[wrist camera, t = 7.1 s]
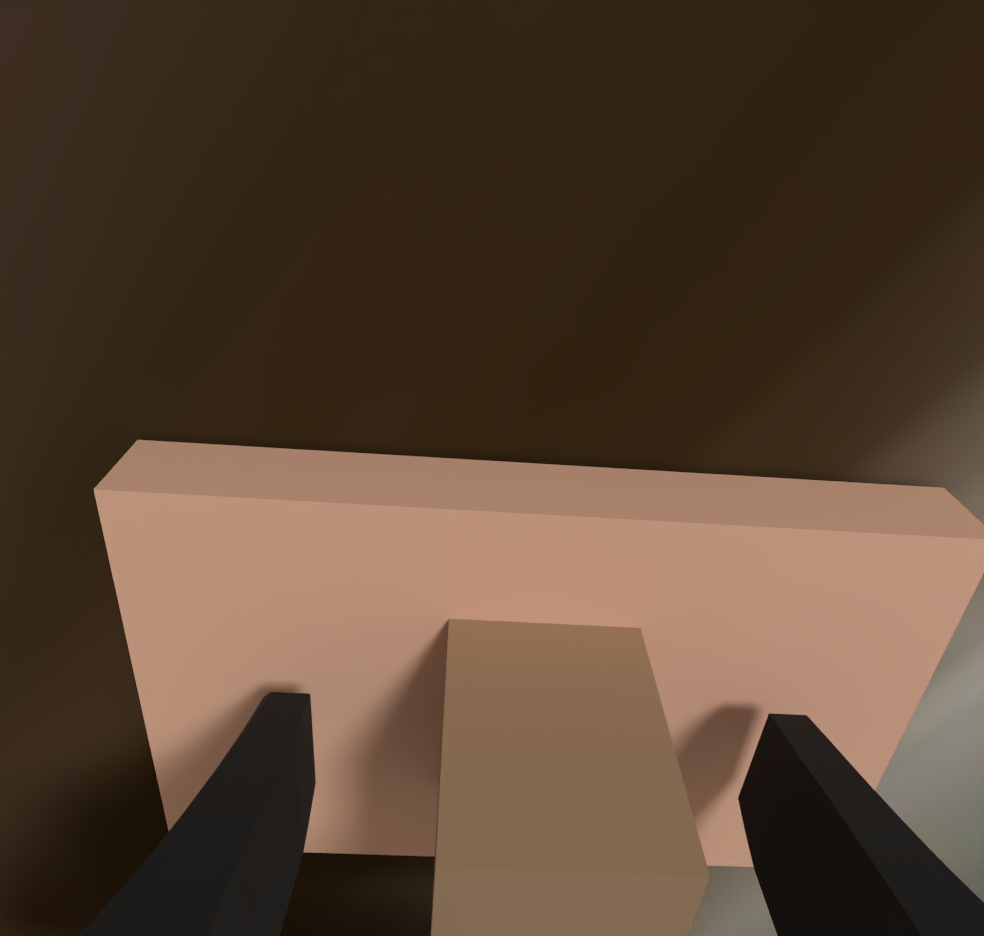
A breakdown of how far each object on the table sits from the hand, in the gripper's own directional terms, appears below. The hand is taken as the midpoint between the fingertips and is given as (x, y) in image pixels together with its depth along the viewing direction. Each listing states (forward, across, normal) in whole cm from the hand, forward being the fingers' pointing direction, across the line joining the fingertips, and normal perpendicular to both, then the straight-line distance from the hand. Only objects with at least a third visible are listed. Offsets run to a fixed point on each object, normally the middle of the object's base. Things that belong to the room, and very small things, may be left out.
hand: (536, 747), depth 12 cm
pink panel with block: (+2, 0, 0) cm, 2 cm away
